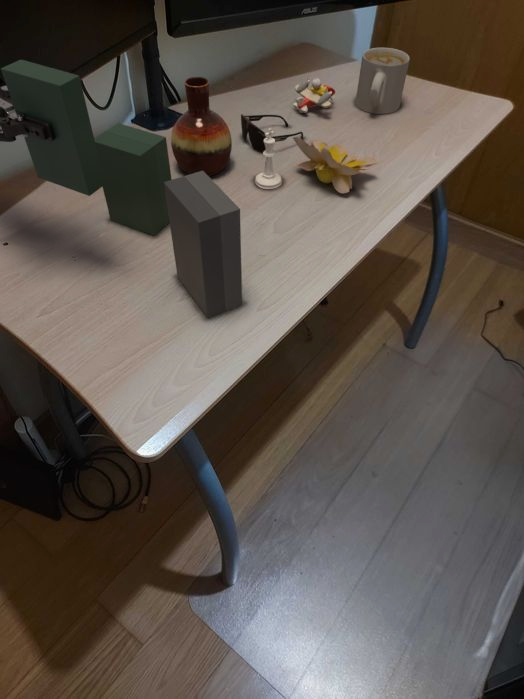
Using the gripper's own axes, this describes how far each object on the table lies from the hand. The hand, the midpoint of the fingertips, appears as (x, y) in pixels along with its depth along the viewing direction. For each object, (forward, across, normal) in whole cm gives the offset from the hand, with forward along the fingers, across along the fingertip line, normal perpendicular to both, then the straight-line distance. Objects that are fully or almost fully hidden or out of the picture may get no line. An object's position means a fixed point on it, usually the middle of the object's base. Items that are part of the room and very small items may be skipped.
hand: (63, 125), depth 63 cm
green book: (-1, 0, +8) cm, 8 cm away
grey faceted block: (+18, +2, +21) cm, 28 cm away
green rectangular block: (-1, +12, +22) cm, 25 cm away
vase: (-1, +32, +22) cm, 38 cm away
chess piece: (+12, +33, +22) cm, 41 cm away
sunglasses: (+5, +47, +22) cm, 52 cm away
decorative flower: (+22, +40, +22) cm, 50 cm away
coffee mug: (+19, +72, +22) cm, 77 cm away
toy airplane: (+7, +64, +22) cm, 68 cm away
